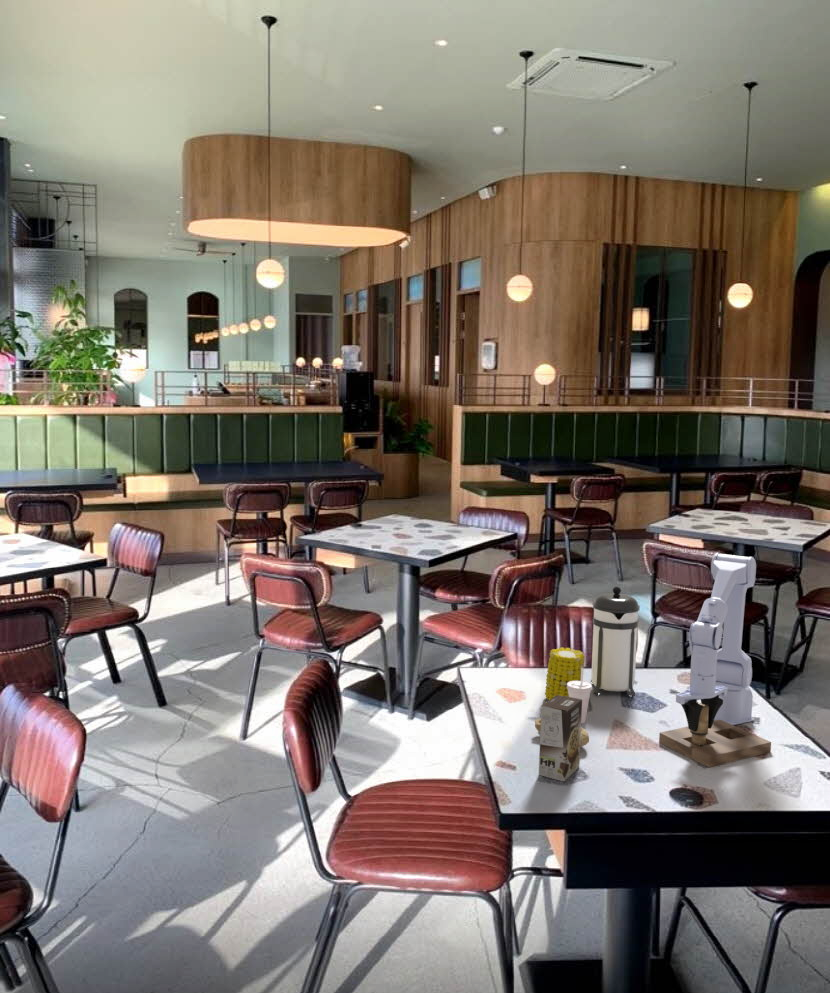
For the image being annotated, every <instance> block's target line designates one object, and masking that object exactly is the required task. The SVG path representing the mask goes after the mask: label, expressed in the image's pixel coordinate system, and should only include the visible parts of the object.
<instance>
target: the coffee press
mask: <svg viewBox="0 0 830 993" xmlns="http://www.w3.org/2000/svg"><path fill="white" fill-rule="evenodd" d="M621 592H622V590H621V588H620V587H619V586H614V587H613V588H612V593H603V594H601V595H598V596H597V597H596V599H595V600H594V602H592V607H593V616H592V624H593V628H592V629H593V631H592V654H591V675H590V676H591V679H590V683H591V682H592V683H593V684H594V685H593V686H594V689H593V695H594V694H597V695H598V693H600V695H602V692H603V691H608V692H624V693H626V694H627V696H628V697H629V695H632V697H631V698H634V697H635V696H636V692H635V690H634V688H633V687H634V685H635V681H636V680H635V679H636V664H637V662H636V660H637V643H638V642H637V638H638V627H639V611H640V609H641V607H640V605H639V602H638V601H637V599H635V598H634V597H633V596H631V595H628V594H624V593H621ZM597 695H596V696H597ZM633 696H634V697H633Z"/></svg>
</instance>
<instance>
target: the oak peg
mask: <svg viewBox="0 0 830 993" xmlns="http://www.w3.org/2000/svg"><path fill="white" fill-rule="evenodd" d="M698 704H700V705H702V706H703V708H702V710H701V713H700V717H699V724H698V730H697V731H696V732H694V731H692V730H690V732H691V733H692V743H693V744H696V746H700V745H705V744H706V735H707V734H708V713H709V706H708V705H706V704H703V703H701V702H698Z"/></svg>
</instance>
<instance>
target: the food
mask: <svg viewBox="0 0 830 993" xmlns="http://www.w3.org/2000/svg"><path fill="white" fill-rule="evenodd" d="M584 663H585V654H584V651H581V650H578V649H577V650H576V649H573V648H572V649H571V647H562V646H561V647H558V648H556V649H555V648H552V649H551V650H550V651H549V659H548V663H547V665H548V666H547V671H546V672H547V674H546V679H545V680H546V682H545V684H546V685H545V692H544V694H545V699H546V700H548V701H549V700H550V699H552V698H553V697H555V696H556V695H560V696H566V697H569V695H568V689H567V683H568V682H570V681H581V668H583V670H584V669H585V668H584Z"/></svg>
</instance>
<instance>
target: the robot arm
mask: <svg viewBox="0 0 830 993" xmlns="http://www.w3.org/2000/svg"><path fill="white" fill-rule="evenodd" d="M710 573H711V575H712V579H713V580H714V584H713V587H712V591H711V596H710V597H709V598H706V599H705V600H704V601H703V604H702V607H701V609H700V612H699V614H698V617H697V620H696V621H695V622H692V623H691V624H690V628H689V630H688V631H689V632H688V633H689V634H688V642H689V653H691V657H690V658H691V659H690V674H689V675H690V677H689V685H687V689H686V690H683V691H682V692H679V693H676V694H675V703H676V704H677V703H678V704H680V705H681V707H682V710H683V711H684V714H685V717H686V718H685V719H686V722H687V727H689V729H690V730H692V731H694V732H696V731H697V730H698V724H699V717H700V713H701V710H702V708H703V706H702V705H700V704H698V703H699V702H698V701H700V703H703V704H706V705H708V706H709V713H708V728H709V729H710V728H711V727H712V724H713V721H716V720H722V721H724V722H727V723H729V724H731V725H733V726H737V725H740V724H745V723H748V722H753V721H755V718H753V717H752V714H753V713H752V710H753V700H754V699H753V698H754V696H753V692H752V690H751V688H750V685H751V683H752V678H753V667H752V666H753V665H752V664H753V663H752V658H751V657H750V656H749V655H748V654H747V653H745V651H744V650H742V643H743V630H744V617H745V606H746V595H747V594H746V593H747V590H748V589H750V588H753V587H754V586H755V583H756V574H757V563H756V559H755V558H754V556H743V555H742V556H741V555H737V554H736V555H735V554H733V555H732V554H726V553H725V554H724V553H720V552H716V553H714V554H713V557H712V558H711V563H710ZM721 642H722V643H721ZM721 644H722V645H721ZM720 645H721V648H720ZM719 648H720V649H719Z"/></svg>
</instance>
